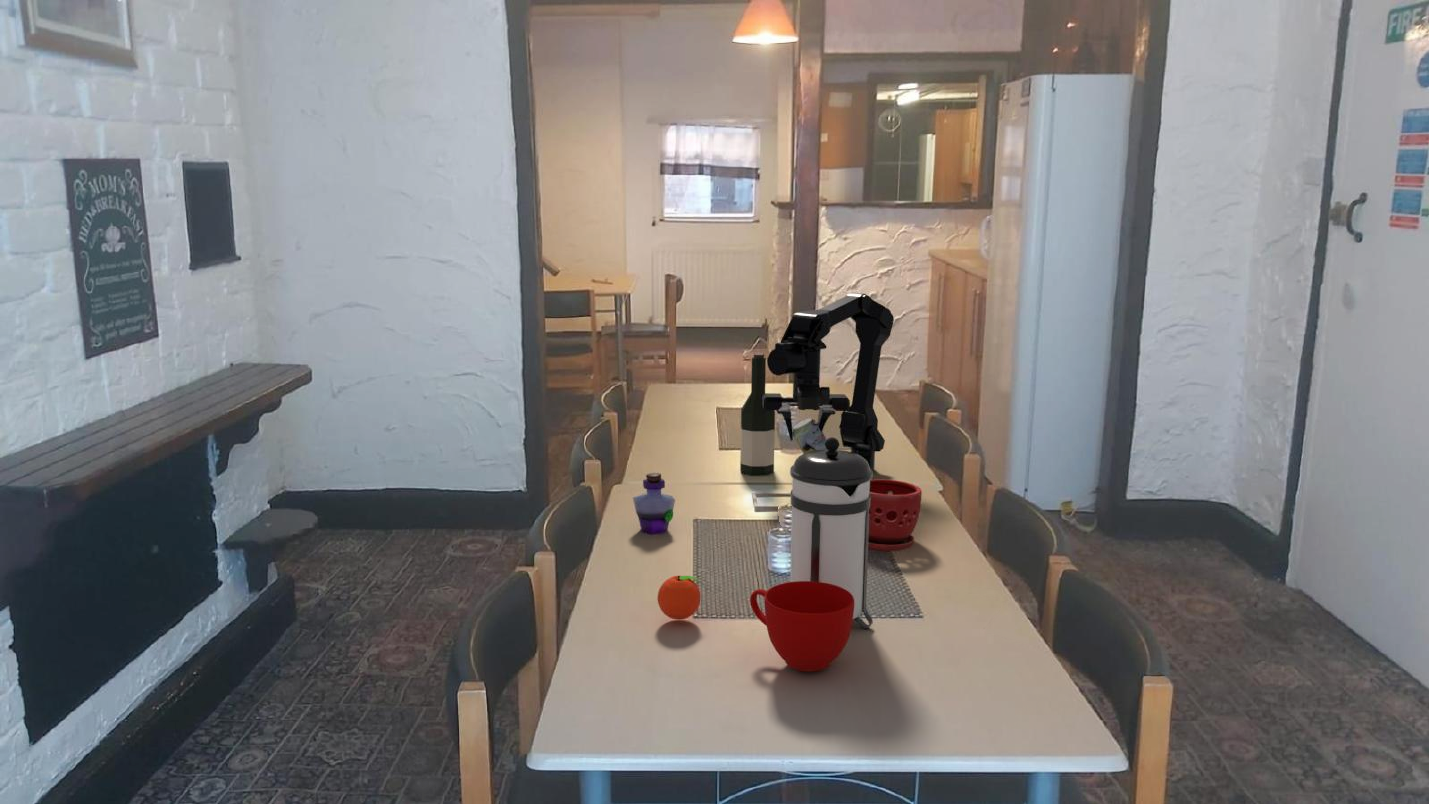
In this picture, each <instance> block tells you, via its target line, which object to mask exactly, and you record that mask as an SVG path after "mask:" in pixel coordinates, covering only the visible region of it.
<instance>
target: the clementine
mask: <svg viewBox="0 0 1429 804" xmlns="http://www.w3.org/2000/svg"><path fill="white" fill-rule="evenodd" d="M694 580H696V581H700V582H701V579H699V578H697V577H695V576H691V575H673V576H670V577H669V578H666V579H665V581H664V582H663V583H662V584H661V585H660V587H659V588H658V591H657V604H658V607H659V608H660V611H661V612H662V613H663V614H664V615H665V616H667V617H668V618H670V619H672V620H685V619H688V618H689V617H692V616H693V615H694V614H695V613H696V611H698V609H699V606H700V604H701V598H702V597H701V591H700V589H699V586H698V585H697V583H696V582H695V581H694ZM702 585H703V586H704V589H706V586H705V584H704V583H702Z"/></svg>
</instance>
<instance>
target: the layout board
mask: <svg viewBox="0 0 1429 804" xmlns="http://www.w3.org/2000/svg"><path fill="white" fill-rule="evenodd" d="M892 494H893V493H892V492H890V493H889V492H888V495H892ZM757 497H758V498H759V497H760V498H761V497H791V492H759V493H758V492H752V493H751V498H752V503H753V508H754V512H760V511H762V512H763V511H767V512H768V511H769V512H771V511H777V510H778V507H779V506H780V505H758V499H757Z"/></svg>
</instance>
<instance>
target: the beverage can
mask: <svg viewBox="0 0 1429 804" xmlns="http://www.w3.org/2000/svg"><path fill="white" fill-rule="evenodd" d="M792 430H793V438H794V440H795V441H796V442H797V445H798V447H799V450H800V451H801V452H802V454H804V453H807V452H810V451H814V450H823V449H826V447H825V445H824V444H825V442H826V440H827V439H828V438H826V436H825V434H824V432H823V431H822V432H821V431H820V429H819V424H818V420H815V419H813V417H807V418H805V419H802V420H800V421H799V422H797V423H796V424H795V425H794V426H793V425H792Z"/></svg>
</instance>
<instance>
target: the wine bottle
mask: <svg viewBox="0 0 1429 804" xmlns="http://www.w3.org/2000/svg"><path fill="white" fill-rule="evenodd" d="M766 362H767V358H766V357H765V354H764V353H759V352H758V353H753V357H752V356H751V379H750V380H751V387H750V390H751V391H750V393H749V396H748V397H747V399H746V401H745V402H744V404H742V407H741V408H740V456H739V457H740V474H742V475H747V476H751V477H756V476H757V477H758V476H759V477H760V476H761V477H764V476H769V475H771V474H774V473H775V435H776V433H775V432H776V431H775V429H776V428H775V425H776V419H775V418H776V410H764V409H763V406H762V397H763V395H764V394H765V393H766V368H767V367H766V366H767V363H766Z"/></svg>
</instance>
